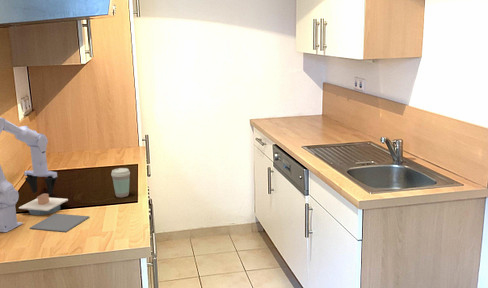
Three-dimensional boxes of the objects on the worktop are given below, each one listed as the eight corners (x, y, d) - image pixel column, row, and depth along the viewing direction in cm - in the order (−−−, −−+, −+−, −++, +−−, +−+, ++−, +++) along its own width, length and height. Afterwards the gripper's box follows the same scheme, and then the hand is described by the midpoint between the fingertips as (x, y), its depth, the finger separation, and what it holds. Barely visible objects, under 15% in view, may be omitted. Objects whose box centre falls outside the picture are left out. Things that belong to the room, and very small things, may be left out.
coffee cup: (124, 191, 238) (122, 166, 235) (135, 194, 232) (133, 169, 230) (108, 196, 231) (106, 170, 229) (120, 199, 226) (118, 173, 223)
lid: (47, 211, 205) (46, 201, 204) (18, 208, 209) (17, 199, 208) (68, 200, 219) (67, 191, 218) (40, 198, 222) (39, 189, 221)
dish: (48, 215, 207) (47, 210, 207) (23, 213, 210) (22, 208, 210) (65, 206, 218) (64, 200, 218) (41, 204, 221) (40, 199, 221)
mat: (66, 232, 189) (65, 231, 189) (29, 228, 193) (29, 227, 193) (89, 217, 204) (89, 216, 204) (55, 214, 208) (55, 213, 208)
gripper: (60, 160, 212) (63, 191, 215) (30, 158, 215) (34, 189, 218) (49, 164, 205) (53, 196, 208) (19, 162, 209) (23, 194, 212)
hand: (42, 193), depth 213 cm, fingers open, 7 cm apart
